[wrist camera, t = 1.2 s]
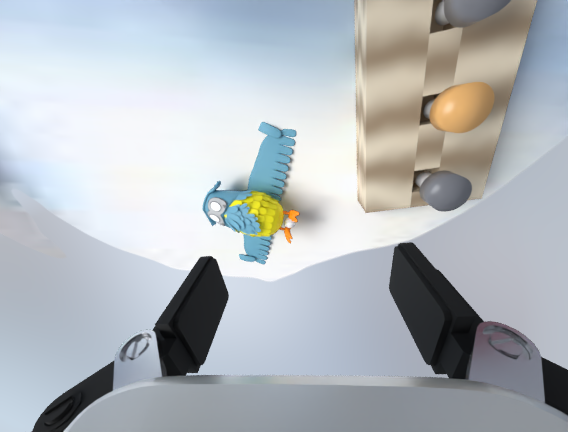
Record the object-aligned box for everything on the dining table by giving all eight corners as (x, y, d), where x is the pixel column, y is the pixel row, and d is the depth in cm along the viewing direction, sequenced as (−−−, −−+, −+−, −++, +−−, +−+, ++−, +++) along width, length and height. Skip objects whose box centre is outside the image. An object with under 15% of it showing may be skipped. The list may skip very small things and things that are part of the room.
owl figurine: (275, 299, 37) (194, 280, 37) (280, 266, 45) (213, 251, 44) (323, 142, 24) (198, 110, 24) (318, 134, 32) (224, 110, 31)
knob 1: (408, 166, 28) (433, 179, 23) (443, 161, 28) (476, 173, 22) (405, 195, 30) (427, 213, 25) (438, 191, 30) (467, 208, 24)
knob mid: (415, 92, 24) (447, 87, 19) (456, 84, 24) (500, 76, 18) (412, 131, 26) (439, 136, 21) (449, 124, 26) (487, 128, 20)
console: (354, 1, 24) (366, -24, 20) (506, -40, 22) (559, -78, 18) (357, 200, 36) (365, 212, 31) (457, 186, 34) (481, 198, 29)
